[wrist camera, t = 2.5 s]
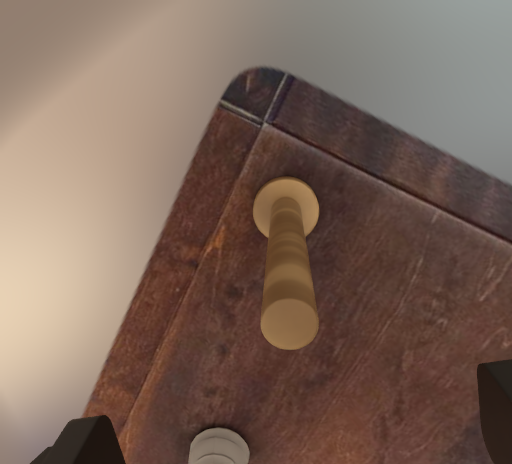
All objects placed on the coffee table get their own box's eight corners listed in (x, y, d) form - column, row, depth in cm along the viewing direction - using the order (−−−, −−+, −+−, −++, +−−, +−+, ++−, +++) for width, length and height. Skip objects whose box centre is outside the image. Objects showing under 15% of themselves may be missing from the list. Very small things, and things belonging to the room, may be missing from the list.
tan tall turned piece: (277, 163, 28) (272, 238, 13) (330, 199, 28) (381, 310, 14) (241, 215, 29) (201, 338, 14) (293, 249, 29) (305, 401, 15)
